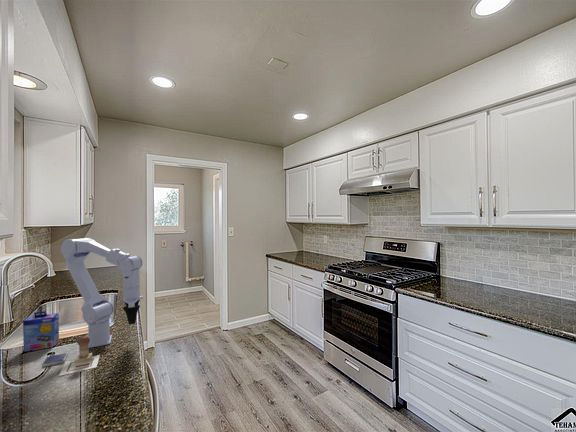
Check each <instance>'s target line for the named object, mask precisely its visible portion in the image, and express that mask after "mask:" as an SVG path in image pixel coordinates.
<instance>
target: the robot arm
mask: <svg viewBox="0 0 576 432" xmlns="http://www.w3.org/2000/svg"><path fill="white" fill-rule="evenodd" d="M59 250H60V253H61V254H62V256H63V258H64V260H65V265H66V267H67V269H68V271H69V273H70V275H71V277H72V279H73V281H74V283H75V285H76V287H77V289H78V291H79V293H80V295H81V297H82V299H83V301H84V303H83V305H82V306H81V309H80V310H81V312H82V319H83V320H84V322H85V324H86V325H87V326H88V328H87V329H88V331H87V332H88V335H87V336H88V337H89V338H90V342H89V349H90V348H91V349H92V348H95V347H101V346H104V345H105V346H106V345H110V344H111V343H112V342H111V341H112V338H113V334H111V329H110V328H111V326H110V319H111V317H112V315H113V313H114V311H115V307H114V305H113V303H112V302H111V301H109V299H108V297H106V296H103V295H101V293H100V291H99V290H98V289H97V286H96V285H95V282H94V280H93V278H92V277H91V274H90V273H89V270H88V268H87V267H86V264H85V260H87V258H88V257H89V255H90V254H91V253H93V254H96V255H98V256H101V257H104V258H105V261H106V262H108V263H110V264H112V265H114V266H116V267H119V269H120V272H121V276H122V282H123V284H122V285H123V287H122V288H123V290H122V293H123V295H122V296H123V299H122V302H123V303H124V305H125V306H123V307H122V308H123V311H124V312H125V314H126V319H127V323H128V325H135V324H136V320H137V315H138V312H139V309H140V308H141V305H140V304H139V302H140V301H141V300H142V299H144V295H141V293H140V291H141V290H140V287H141V284H140V281H141V280H140V269H141V268H142V266H143V260H142V257H140V256H139V255H131V253H126V252H124V251H121V249H120V248H112V249H110V248H108V247H106V246H104V245H102V244H100V243H99V242H96V240H95V239H94V238H93V239H92V238H90V237H84V238H83V237H82V238H68V239H65V240H64V241H63V242H62V244H61V247H60V249H59Z"/></svg>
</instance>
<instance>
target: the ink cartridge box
mask: <svg viewBox="0 0 576 432" xmlns="http://www.w3.org/2000/svg"><path fill="white" fill-rule="evenodd" d="M33 314H34V315H32V316H30V315H29V316H28V317H27V318H25V319H23V320H22V327H23V328H22V332H23V334H22V335H23V339H22V340H23V352H24V353H25V352H30V351H31V350H32V351H36V350H44V348H45V349H50V348H49V347H51V348H54V347H53V346H55V345H56V344H57V343H58V342H59V343H60V324H59V317H60V316H59V313H58V312H54V313H47V312H46V311H44V310H42V311H35V312H33ZM59 343H58V344H59ZM58 344H57V345H58ZM57 345H56V346H57ZM56 346H55V347H56Z"/></svg>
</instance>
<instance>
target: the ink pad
mask: <svg viewBox="0 0 576 432" xmlns="http://www.w3.org/2000/svg"><path fill="white" fill-rule="evenodd" d="M68 357H69V353H68V352H65V353H59V354H55V355H51V356H47V357H46V358H45V360H44V361H43V362H42V364H41V368H45V367H46V368H47V367H52V366H56V364H57V365H60V364H65V363H66V360H67V358H68Z"/></svg>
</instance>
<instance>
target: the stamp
mask: <svg viewBox="0 0 576 432" xmlns="http://www.w3.org/2000/svg"><path fill="white" fill-rule="evenodd" d="M89 342H90V338H89V336H88V335H82V336H81V337H80V338H78V340H77V345H78V346H79V348H78V349H79V351H78V352H79V354H78V355H77V357H76V359H75V360H76V367H80V366H85V365H89V364H90V363H91V361H92V356H93V352H90V351H89V349H90V348H89Z"/></svg>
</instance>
